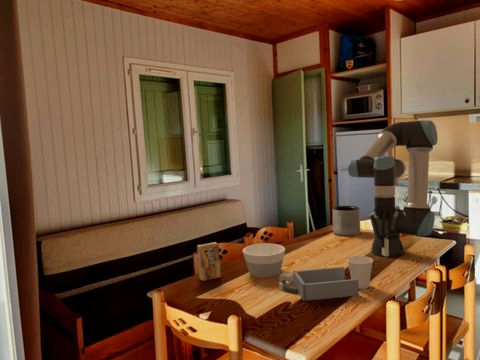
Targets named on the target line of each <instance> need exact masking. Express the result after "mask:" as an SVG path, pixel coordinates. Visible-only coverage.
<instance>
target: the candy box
mask: <svg viewBox="0 0 480 360" xmlns="http://www.w3.org/2000/svg"><path fill="white" fill-rule="evenodd" d="M219 245H220V244H219V243H217V242H216V241H214V242H209V243H203V244H198V245H196V248H197V250H196V251H197V265H198V266H197V267H198V276H199V277H198V279H199V280H201V281H208V280H212V279H217V278H221V264H220V263H221V262H220V247H219Z"/></svg>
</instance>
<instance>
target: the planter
mask: <svg viewBox="0 0 480 360" xmlns="http://www.w3.org/2000/svg"><path fill="white" fill-rule="evenodd" d="M360 208H361V207H359V206H354V205H337V206H334V207H332V232H333V234H335V235H338V236H341V237H342V236H343V237H352V236H358V235H359V234H360V233H361V215H360V214H361V213H360V212H361V209H360Z"/></svg>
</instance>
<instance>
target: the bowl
mask: <svg viewBox="0 0 480 360" xmlns="http://www.w3.org/2000/svg"><path fill="white" fill-rule="evenodd" d="M285 253H286V248H285V246H284V245H281V244H277V243H257V244H255V243H254V244H252V245H251V244H250V245H247V246H245V247H243V249H242V254H243V256H244V259H245V263H246V266H247V269H248V272H249V275H250V276H252V277H254V278H261V279H262V278H264V279H266V278H267V279H268V278H273V277H276V276H278V275H280V274H281V271H282V267H283V263H284V259H285V255H286V254H285Z"/></svg>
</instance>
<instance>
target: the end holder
mask: <svg viewBox="0 0 480 360" xmlns="http://www.w3.org/2000/svg"><path fill="white" fill-rule="evenodd" d="M345 271H346V270H345V266H334V267H326V268H325V267H321V268H314V269H313V268H311V269H302V270H293V271H292V273H293V281H292V283H293V288H296V289H298V292H297V294H299V296H300V298H301V299H302V301H303V302H305V301H307V302H308V301H316V300H326V299H327V300H328V299H335V298H346V297H354V296H355V297H357V296H359V295H360V294H359V292H360V291H359V290H360V289H359V284H358V279H351V278H350V279H346V275H345V273H346V272H345Z"/></svg>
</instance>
